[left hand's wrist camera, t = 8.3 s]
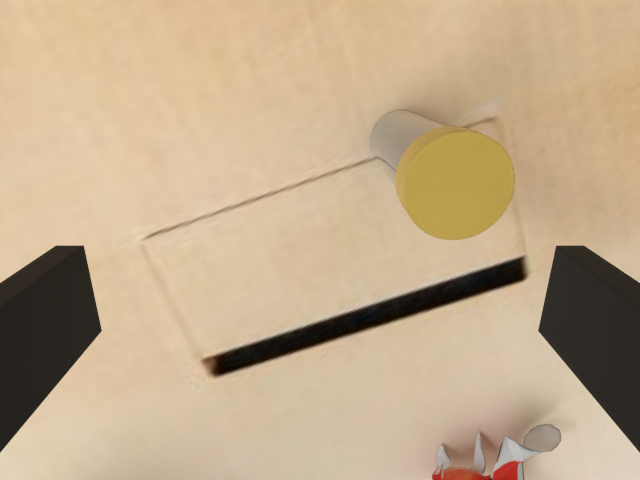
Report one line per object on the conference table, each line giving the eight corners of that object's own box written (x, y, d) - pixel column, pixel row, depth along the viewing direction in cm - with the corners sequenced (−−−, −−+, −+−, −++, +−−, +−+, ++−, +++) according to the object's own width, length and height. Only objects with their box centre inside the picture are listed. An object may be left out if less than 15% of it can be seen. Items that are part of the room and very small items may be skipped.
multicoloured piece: (396, 445, 41) (474, 554, 34) (517, 366, 46) (606, 447, 39) (396, 491, 48) (461, 590, 41) (501, 418, 53) (575, 495, 46)
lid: (375, 193, 23) (381, 205, 21) (436, 105, 22) (449, 108, 20) (453, 242, 24) (467, 258, 22) (517, 161, 23) (538, 171, 21)
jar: (359, 149, 36) (388, 200, 21) (392, 98, 35) (447, 116, 20) (405, 179, 37) (463, 248, 22) (439, 130, 36) (525, 171, 21)
